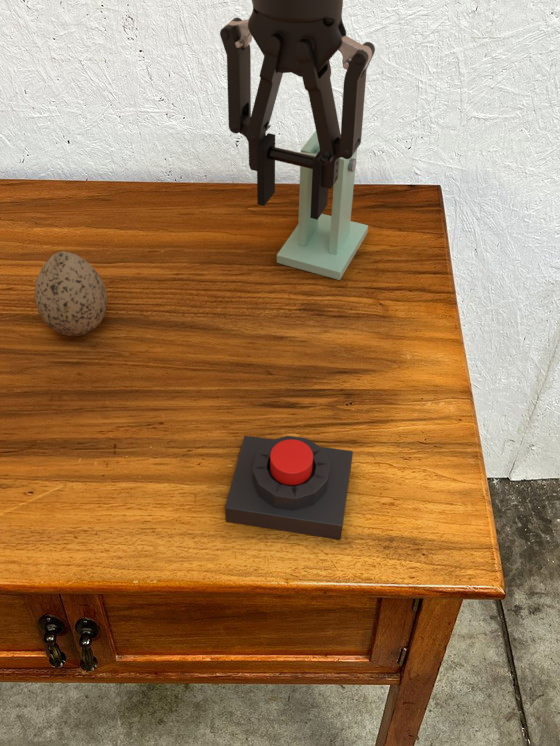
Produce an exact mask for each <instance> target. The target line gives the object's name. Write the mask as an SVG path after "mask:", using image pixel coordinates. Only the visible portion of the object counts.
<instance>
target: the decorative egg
mask: <svg viewBox="0 0 560 746" xmlns="http://www.w3.org/2000/svg"><path fill="white" fill-rule="evenodd" d="M34 298H35V305H36V308H37V311H38V313H39V315H40V317H41V319H42V320H43V322H44V323H45V324H46V325H47V326H48V327H49V328H50V329H52V330H53V331H55V332H56V333H57V334H60V335H63V336H67V337H80V336H84V335H87V334H89V333H91V332H92V331H94V330H95V329H96V328H98V326H99V325H100V324H101V323H102V321H103V319H104V317H105V315H106V311H107V307H108V294H107V290H106V286H105V284H104V281H103V279H102V276H100V273H99V272H98V271H97V270H96V269H95V268H94V266H92V264H90V263H89V262H88V261H87V260H85V259H84V258H82V257H81V256H80V255H77V254H75V253H73V252H70V251H65V250H63V251H61V250H60V251H56V252H55V253H54V254H52V255H51V256H50V257H49V258H48V259H47V260H46V261H45V262H44V263H43V265H42V266H41V268H40V270H39V272H38V276H37V278H36V282H35V287H34Z"/></svg>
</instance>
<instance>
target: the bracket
mask: <svg viewBox="0 0 560 746" xmlns="http://www.w3.org/2000/svg"><path fill="white" fill-rule="evenodd" d="M318 146H319V142H318V138H317V133H316V130H315V131H314V132H313V133H312V135H311V136H310V137H309V139H308V140H307V141H306V142H305V144H304V145H303V147H301V149H300V152H302V153H316V154H317V149H318ZM357 155H358V149H357V150H356V151H355V153H354V154H353V156H352V157H351V158H350V159H344V158H343V157H340V161H339V172H338V173H339V174H338V179H337V181H336V182H335V184H334V185H333V187H332V188H333V190H332V203H331V215H329V214H324V213H322V214H321V215H320V217H319V218H318V220H316V219H313V218H310V216H311V194H312V172H313V169H310V168H305V167H301V166H299V193H298V199H299V200H298V218H297V219H298V223H297V225H296V227H295V228H294V229H293V231H292V233H290V236H288V238H287V239H286V241H285V243H284V244H283V245H282V246H281V248H280V250H278V252H277V254H276V263H277V264H280V265H283V266H286V267H287V266H288V267H291V268H294V269H298V270H302V271H306V272H309V273H312V274H315V275H319V276H323V277H327V278H331V279H334V280H337V281H340V280H341V279H342V278H343V275H344V274H345V272H346V270H347V269H348V267H349V265H350V264H351V262H352V260H353V259H354V257H355V256H356V254H357V252H358V251H359V249H360V247H361V245H362V243H363V242H364V240H365V238H366V237H367V235H368V231H369V225H368V224H365V223H361V222H356V221H352V209H353V199H354V189H355V187H354V186H355V178H356V177H355V176H356V166H357Z"/></svg>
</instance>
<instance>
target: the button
mask: <svg viewBox="0 0 560 746" xmlns="http://www.w3.org/2000/svg"><path fill="white" fill-rule="evenodd" d="M312 466H313V453H312V450H311V449H310V447H309V446H308V445H307V444H305V443H304V442H301V441H299V440H293V439H289V440H284V441H281V442H279V443H278V444H276V445H275V446H274V447H273V449H272V451H271V455H270V470H271V474H272V476H273V477H274V478H275V479H276V480H277V481H278V482H280V483H282V484H285V485H298V484H301V483H303V482H305V481H306V480H307V479H308V478H309V477H310V475H311V473H312Z"/></svg>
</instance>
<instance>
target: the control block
mask: <svg viewBox="0 0 560 746" xmlns="http://www.w3.org/2000/svg"><path fill="white" fill-rule="evenodd" d="M289 439H293V440H299V441H301V442H304V443H305V444H307V445H308V446H309V447H310V449H311V450H312V453H313V466H312V473H311V475H310V477H309V478H308V479H307V480H306V481H305V482H303V483H301V484H298V485H285V484H282V483H280V482H278V481H277V480H276V479H275V478H274V477H273V476H272V474H271V470H270V455H271V451H272V449H273V447H274V446H275V445H276V444H278V443H279V442H281V441H284V440H289ZM353 455H354V452H353V451H352V450H346V449H340V448H334V447H333V448H332V447H326V446H320V445H318V444H317V443H315V442H313V441H312V440H310V439H309V438H307V437H300V436H299V437H298V436H294V435H293V436H292V435H286V436H281V437H278V438H275V439H271V438H264V437H258V436H250V435H244V436H243V439H242V443H241V446H240V450H239V454H238V457H237V461H236V465H235V468H234V473H233V476H232V480H231V484H230V487H229V491H228V494H227V498H226V501H225V507H224V513H225V522H226V523H230V524H238V525H242V526H243V525H244V526H250V527H257V528H262V529H269V530H275V531H281V532H287V533H294V534H300V535H307V536H313V537H319V538H327V539H331V540H339V541H341V539H342V534H343V527H344V520H345V513H346V506H347V505H346V504H347V499H348V498H347V497H348V492H349V483H350V476H351V469H352V461H353Z"/></svg>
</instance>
